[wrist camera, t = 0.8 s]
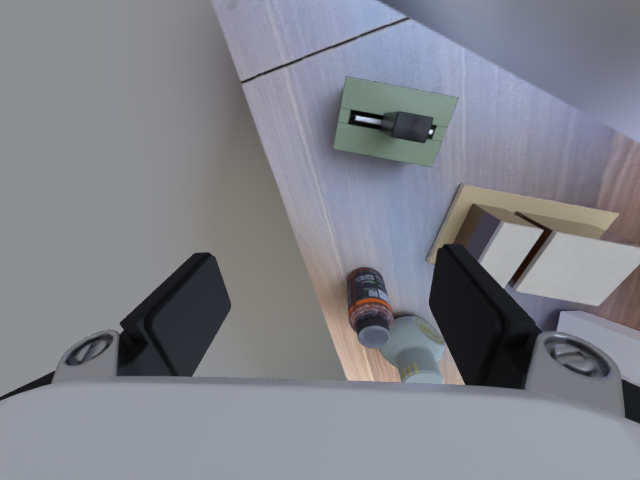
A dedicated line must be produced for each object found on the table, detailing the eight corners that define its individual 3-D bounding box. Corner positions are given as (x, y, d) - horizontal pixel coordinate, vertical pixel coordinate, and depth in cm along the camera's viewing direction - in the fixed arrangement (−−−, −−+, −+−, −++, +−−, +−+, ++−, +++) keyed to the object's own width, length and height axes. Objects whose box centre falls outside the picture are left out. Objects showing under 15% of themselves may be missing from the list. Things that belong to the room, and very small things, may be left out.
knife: (350, 125, 27) (357, 131, 16) (353, 109, 27) (363, 104, 15) (409, 136, 27) (458, 150, 16) (414, 121, 27) (469, 124, 15)
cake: (460, 182, 30) (495, 201, 24) (612, 210, 30) (689, 237, 24) (426, 259, 36) (445, 292, 29) (553, 283, 36) (602, 321, 29)
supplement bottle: (354, 299, 41) (359, 358, 31) (341, 273, 38) (341, 328, 28) (388, 289, 39) (404, 348, 29) (376, 261, 37) (389, 314, 27)
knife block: (334, 142, 29) (332, 149, 23) (344, 85, 26) (345, 76, 20) (413, 157, 29) (432, 167, 23) (431, 102, 26) (459, 97, 20)
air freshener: (368, 328, 44) (375, 382, 35) (400, 301, 40) (416, 354, 31) (411, 353, 46) (428, 410, 37) (445, 331, 42) (472, 387, 33)
